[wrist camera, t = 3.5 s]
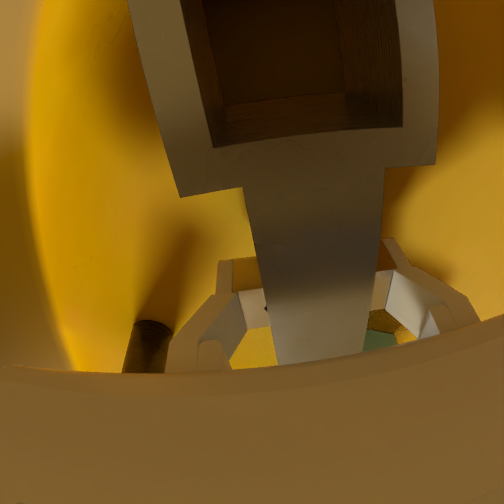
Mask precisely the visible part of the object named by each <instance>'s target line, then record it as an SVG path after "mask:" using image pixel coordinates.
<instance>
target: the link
mask: <svg viewBox="0 0 504 504" xmlns="http://www.w3.org/2000/svg"><path fill="white" fill-rule="evenodd" d="M333 1H334V7H335V13H336V20H337V27H338V34H339V42H340V50H341V58H342V67H343V78H344V89H345V92H341V93H326V94H313V95H303V96H294V97H285V98H277V99H270V100H263V101H256V102H250V103H243V104H238V105H232V106H227V107H224V105H223V100H222V95H221V91H220V86H219V81H218V76H217V72H216V67H215V62H214V57H213V53H212V48H211V43H210V38H209V34H208V29H207V24H206V19H205V15H204V10H203V5H202V0H127V2H128V7H129V11H130V16H131V20H132V25H133V29H134V33H135V38H136V42H137V46H138V50H139V54H140V58H141V62H142V66H143V70H144V74H145V78H146V82H147V86H148V90H149V93H150V97H151V101H152V104H153V108H154V112H155V115H156V119H157V122H158V126H159V129H160V133H161V136H162V140H163V143H164V147H165V150H166V153H167V157H168V160H169V163H170V167H171V170H172V173H173V177H174V180H175V183H176V186H177V189H178V193H179V196H180V198H182V197H187V196H193V195H198V194H203V193H209V192H214V191H220V190H225V189H231V188H237V187H243V192H244V197H245V202H246V207H247V212H248V216H249V221H250V226H251V231H252V236H253V241H254V246H255V251H256V256H257V261H258V266H259V271H260V276H261V281H262V286H263V291H264V296H265V301H266V306H267V311H268V316H269V321H270V326H271V331H272V336H273V341H274V346H275V351H276V356H277V361H278V365H285V364H293V363H300V362H307V361H314V360H321V359H327V358H333V357H339V356H345V355H350V354H355V353H361V352H362V349H363V344H364V339H365V334H366V329H367V324H368V319H369V313H370V307H371V301H372V295H373V289H374V282H375V275H376V268H377V260H378V252H379V243H380V233H381V223H382V211H383V197H384V179H385V168H396V167H408V166H423V165H435V160H436V150H437V136H438V118H439V59H438V42H437V30H436V20H435V11H434V3H433V0H333Z"/></svg>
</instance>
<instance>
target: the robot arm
mask: <svg viewBox="0 0 504 504" xmlns="http://www.w3.org/2000/svg"><path fill="white" fill-rule="evenodd" d="M379 309H385V310H386V311H387V312H388V313H390V314H391V315H392V316H393V317H394V318H395V319H397V320H398V321H399V322H400V323H401V324H402V325H403V326H404V327H406V328H407V329H408V330H409V331H410V332H411V333H412V334H414V335H415V336H416V337H417V338H418V339H417V340H415V341H411V342H407V343H403V344H398V345H394V346H390V347H385V348H380V349H376V350H371V351H366V352H361V353H355V354H350V355H345V356H339V357H333V358H327V359H321V360H314V361H307V362H300V363H293V364H285V365H277V366H268V367H259V368H248V369H237V370H232V368H231V366H230V363H229V359H230V358H231V356H232V355H233V353H234V351H235V350H236V348H237V346H238V345H239V343H240V341H241V340H242V338H243V337H244V335H245V333H246V332H247V329H252V328H259V327H266V326H270V321H269V316H268V311H267V306H266V301H265V296H264V291H263V286H262V281H261V276H260V271H259V266H258V261H257V256H255V257H245V258H236V259H229V260H220V261H219V262H218V268H217V280H216V292H215V295H211V296H210V297H209V298H208V299H207V300H206V302H205V303H204V304H203V305H202V306H201V307H200V308H199V309H198V311H197V312H196V313H195V314H194V315H193V316H192V317H191V318H190V320H189V321H188V322H187V323H186V324H185V325H184V326H183V327H182V329H181V330H180V331H179V332H178V333H177V334H176V335H175V336H174V338H173V339H172V340H171V341H170V343H169V348H168V354H167V361H166V367H165V373H103V372H83V371H68V370H55V369H45V368H36V367H27V366H21V365H12V364H11V365H7V366H6V367H4V368H3V369H1V370H0V504H504V314H502V315H499V316H496V317H493V318H490V319H487V320H484V321H480V319H479V317H478V315H477V314H476V312H475V310H474V308H473V307H472V305H471V303H470V302H469V300H468V298H467V297H466V296H465V295H463V294H462V293H460V292H458V291H457V290H455V289H453V288H452V287H450V286H448V285H447V284H445V283H443V282H442V281H440V280H438V279H437V278H435V277H433V276H432V275H430V274H428V273H426V272H425V271H423V270H421V269H420V268H418V267H416V266H413V267H412V266H411V264H410V263H409V261H408V259H407V258H406V256H405V254H404V253H403V251H402V249H401V248H400V246H399V244H398V243H397V241H396V240H395V238H393V237H391V238H385V239H380V243H379V252H378V260H377V268H376V275H375V282H374V289H373V295H372V301H371V307H370V311H373V310H379Z"/></svg>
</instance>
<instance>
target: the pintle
mask: <svg viewBox="0 0 504 504" xmlns="http://www.w3.org/2000/svg"><path fill="white" fill-rule="evenodd" d="M172 337H173V335H172V332H171V331H170V330H169V329H168V328H167V327H166V326H164V325H163V324H161V323H158V322H155V321H149V320H144V321H139V322H137V323H135V324H134V326H133V329H132V332H131V336H130V340H129V344H128V348H127V352H126V356H125V360H124V364H123V368H122V373H165V367H166V361H167V354H168V348H169V343H170V341H171V340H172Z"/></svg>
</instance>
